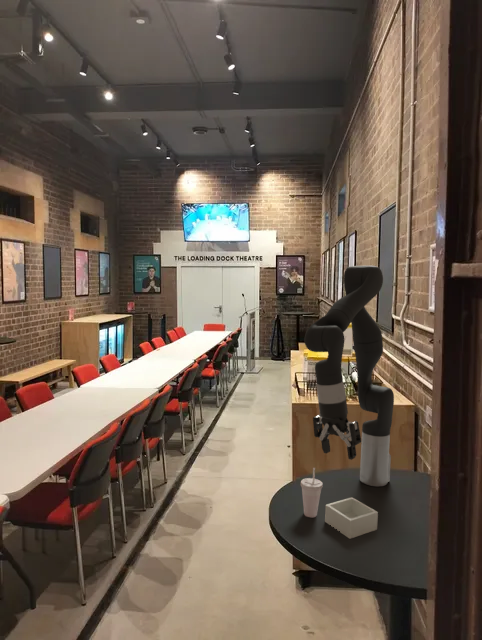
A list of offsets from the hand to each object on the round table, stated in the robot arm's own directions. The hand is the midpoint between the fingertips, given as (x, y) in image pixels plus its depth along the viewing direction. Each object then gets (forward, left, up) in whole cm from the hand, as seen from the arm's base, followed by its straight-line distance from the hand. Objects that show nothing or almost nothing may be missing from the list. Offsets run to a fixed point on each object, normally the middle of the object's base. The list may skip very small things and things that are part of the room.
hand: (339, 455), depth 130 cm
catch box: (-4, +1, -21) cm, 21 cm away
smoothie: (+2, -9, -21) cm, 23 cm away
